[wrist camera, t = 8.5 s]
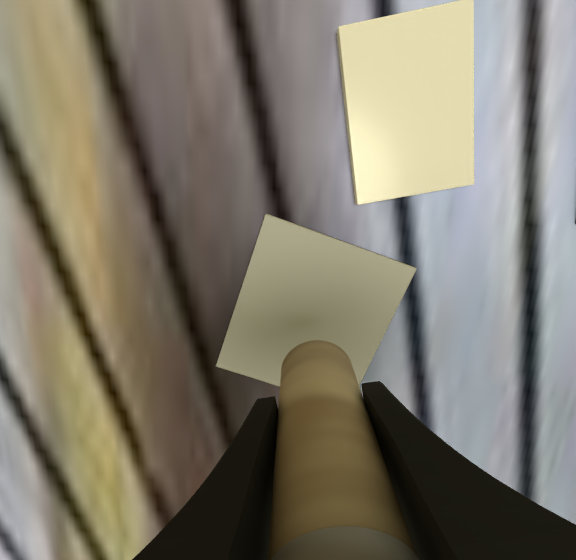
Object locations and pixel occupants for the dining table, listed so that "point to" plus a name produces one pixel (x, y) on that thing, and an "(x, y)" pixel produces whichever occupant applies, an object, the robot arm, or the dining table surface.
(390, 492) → the dowel
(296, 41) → the dining table surface
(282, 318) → the mat
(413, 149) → the tile
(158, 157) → the dining table surface
